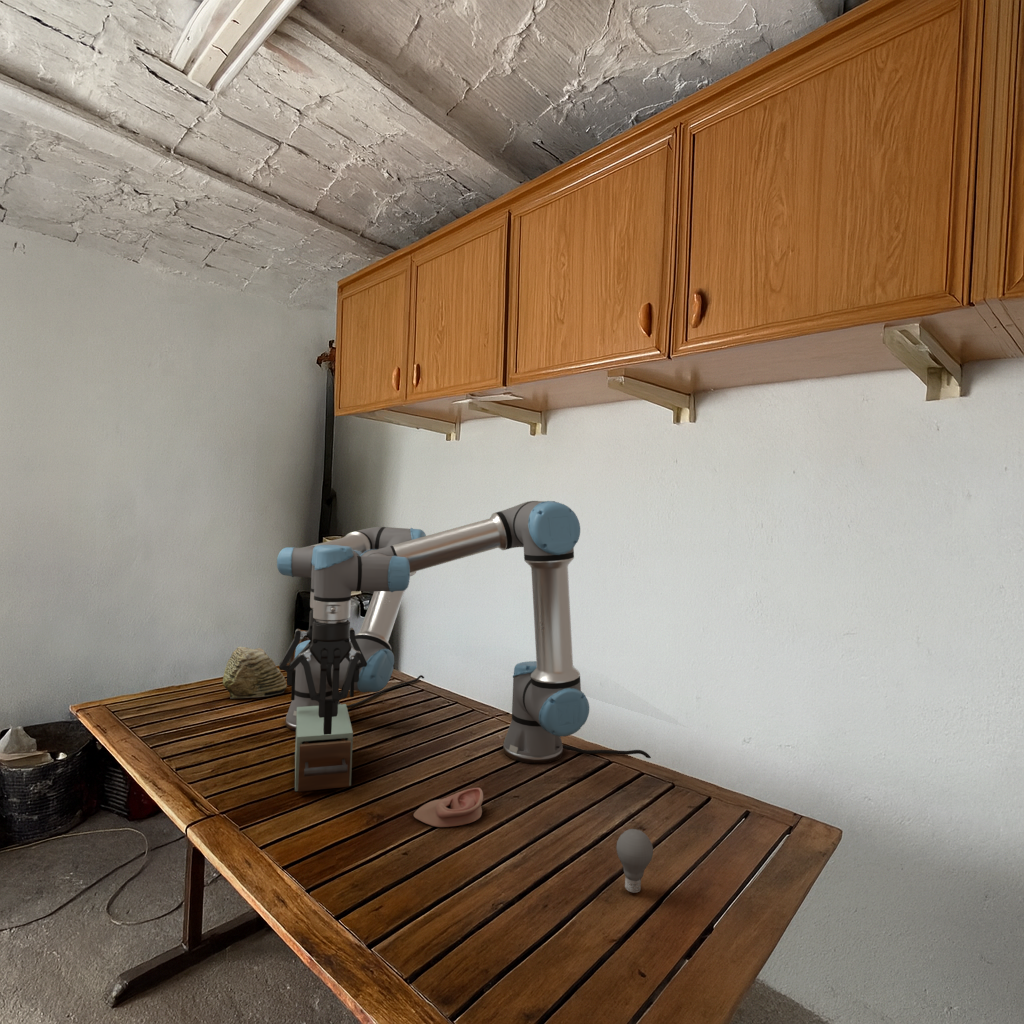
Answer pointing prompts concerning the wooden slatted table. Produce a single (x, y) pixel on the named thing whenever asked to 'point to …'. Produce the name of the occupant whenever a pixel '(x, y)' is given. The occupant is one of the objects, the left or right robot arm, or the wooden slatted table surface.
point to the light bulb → (634, 857)
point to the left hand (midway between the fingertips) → (322, 697)
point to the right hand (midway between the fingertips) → (327, 731)
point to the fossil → (252, 674)
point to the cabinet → (320, 730)
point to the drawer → (324, 764)
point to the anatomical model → (452, 809)
